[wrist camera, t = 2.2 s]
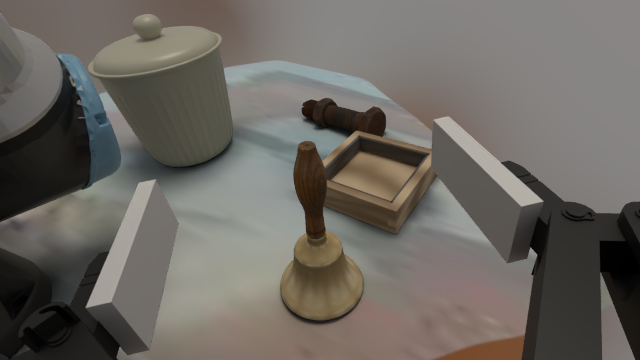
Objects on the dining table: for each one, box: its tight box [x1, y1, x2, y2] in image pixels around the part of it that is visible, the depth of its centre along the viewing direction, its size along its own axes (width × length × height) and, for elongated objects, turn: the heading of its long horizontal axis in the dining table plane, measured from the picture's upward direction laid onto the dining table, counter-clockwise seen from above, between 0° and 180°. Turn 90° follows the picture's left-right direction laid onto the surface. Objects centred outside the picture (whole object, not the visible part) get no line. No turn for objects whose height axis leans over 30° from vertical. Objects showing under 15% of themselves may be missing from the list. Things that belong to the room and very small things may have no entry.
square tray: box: [322, 131, 437, 234], centre depth 46 cm, size 12×12×4 cm
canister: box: [88, 14, 233, 167], centre depth 53 cm, size 18×18×21 cm
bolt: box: [302, 98, 386, 137], centre depth 58 cm, size 6×5×15 cm
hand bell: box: [280, 141, 364, 320], centre depth 31 cm, size 8×8×16 cm
